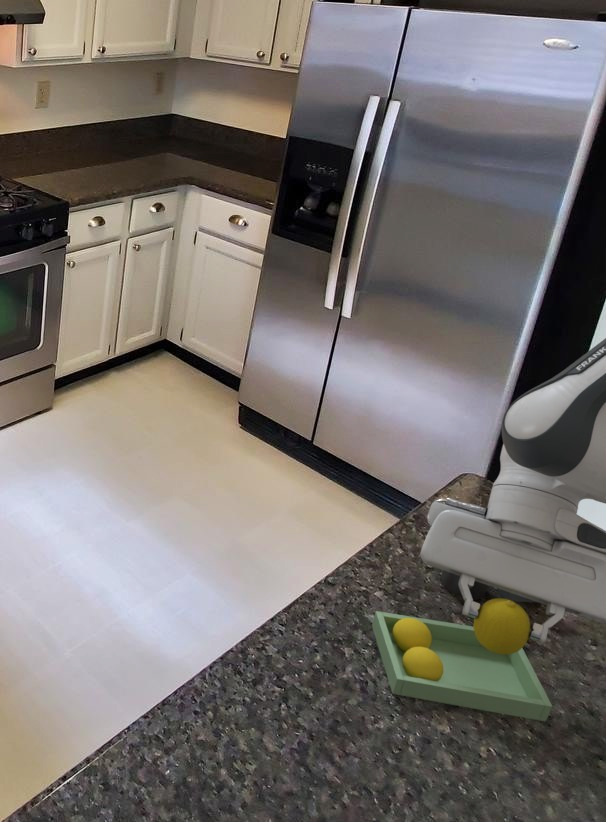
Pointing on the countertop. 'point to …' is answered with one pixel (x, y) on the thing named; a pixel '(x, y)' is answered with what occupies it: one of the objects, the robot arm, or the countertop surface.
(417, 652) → the small lemon
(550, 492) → the robot arm
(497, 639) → the lemon
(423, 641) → the small lemon
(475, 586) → the grey tin
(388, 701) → the countertop surface
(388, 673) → the tray
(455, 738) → the countertop surface
